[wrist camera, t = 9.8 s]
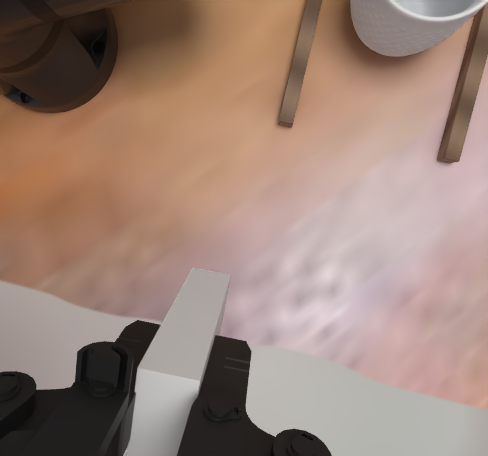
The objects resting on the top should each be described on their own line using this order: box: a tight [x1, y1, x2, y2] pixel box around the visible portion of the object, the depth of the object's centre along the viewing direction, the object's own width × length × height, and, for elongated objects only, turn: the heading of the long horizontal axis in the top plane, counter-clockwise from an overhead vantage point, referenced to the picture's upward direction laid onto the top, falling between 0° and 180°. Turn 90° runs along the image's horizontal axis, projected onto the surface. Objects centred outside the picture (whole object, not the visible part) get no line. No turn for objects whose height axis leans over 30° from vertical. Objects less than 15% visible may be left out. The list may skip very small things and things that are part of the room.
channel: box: [278, 0, 488, 163], centre depth 44 cm, size 23×19×2 cm
